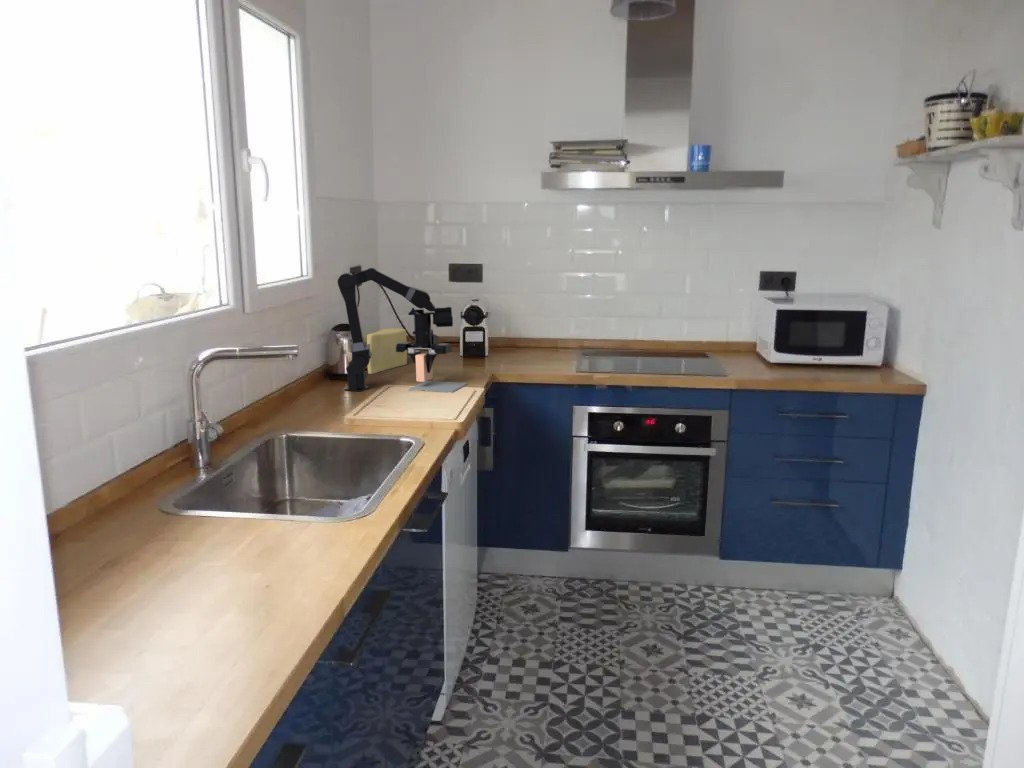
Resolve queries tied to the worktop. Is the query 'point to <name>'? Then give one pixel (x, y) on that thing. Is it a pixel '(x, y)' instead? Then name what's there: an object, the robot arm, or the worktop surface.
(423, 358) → the slab
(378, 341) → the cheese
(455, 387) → the mat
